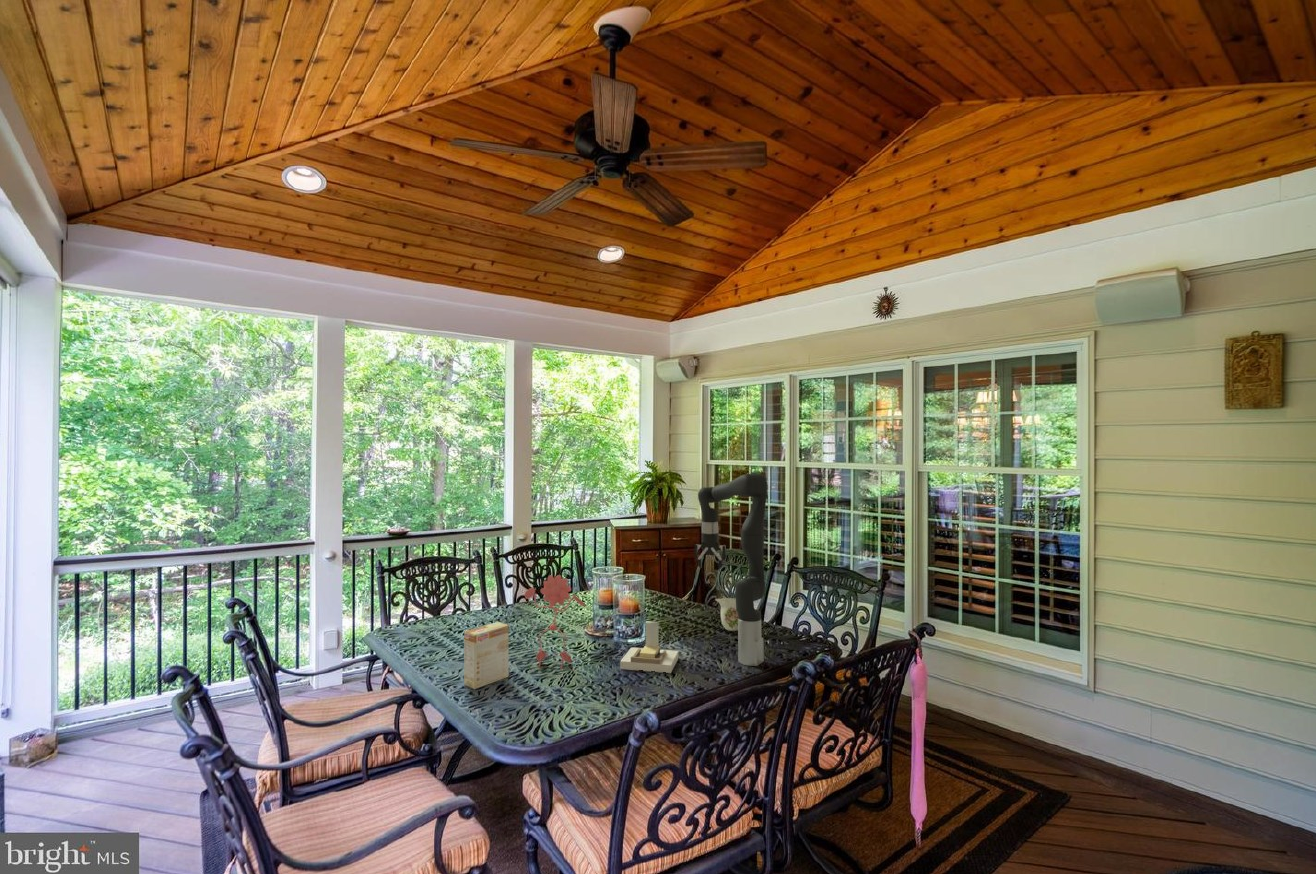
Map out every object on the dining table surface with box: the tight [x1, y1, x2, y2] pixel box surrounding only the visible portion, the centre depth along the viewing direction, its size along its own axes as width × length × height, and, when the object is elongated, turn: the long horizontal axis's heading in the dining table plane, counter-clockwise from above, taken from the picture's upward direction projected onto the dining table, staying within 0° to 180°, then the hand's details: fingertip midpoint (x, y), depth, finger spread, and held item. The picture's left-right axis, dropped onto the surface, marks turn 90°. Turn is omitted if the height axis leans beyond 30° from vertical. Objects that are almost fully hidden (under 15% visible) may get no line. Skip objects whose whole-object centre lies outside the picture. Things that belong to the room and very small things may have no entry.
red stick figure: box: [524, 574, 586, 671], centre depth 235 cm, size 15×26×35 cm, turn 79°
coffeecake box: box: [463, 621, 510, 690], centre depth 216 cm, size 15×7×20 cm, turn 141°
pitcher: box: [715, 597, 738, 632], centre depth 277 cm, size 11×18×14 cm, turn 86°
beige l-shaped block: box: [639, 620, 661, 658], centre depth 232 cm, size 9×6×12 cm
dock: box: [619, 646, 680, 674], centre depth 232 cm, size 20×16×5 cm
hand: (710, 568), depth 261 cm, fingers open, 8 cm apart
